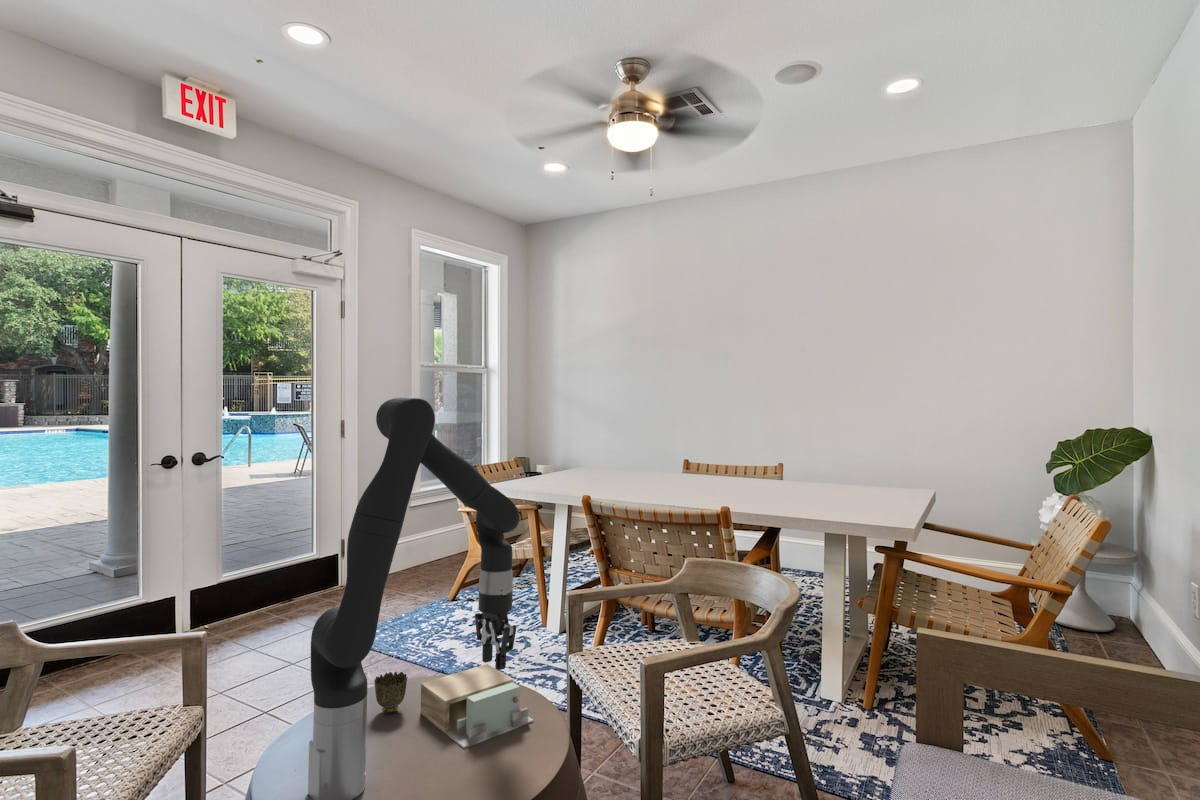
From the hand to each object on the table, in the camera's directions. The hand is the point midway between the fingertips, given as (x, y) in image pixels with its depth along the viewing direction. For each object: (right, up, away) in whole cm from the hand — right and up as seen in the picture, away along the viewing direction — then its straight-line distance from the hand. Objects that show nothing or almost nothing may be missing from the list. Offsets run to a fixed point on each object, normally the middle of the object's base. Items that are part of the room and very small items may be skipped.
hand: (493, 664), depth 139 cm
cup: (-26, -14, +8) cm, 31 cm away
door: (0, -14, 0) cm, 14 cm away
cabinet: (-5, -14, +5) cm, 16 cm away
